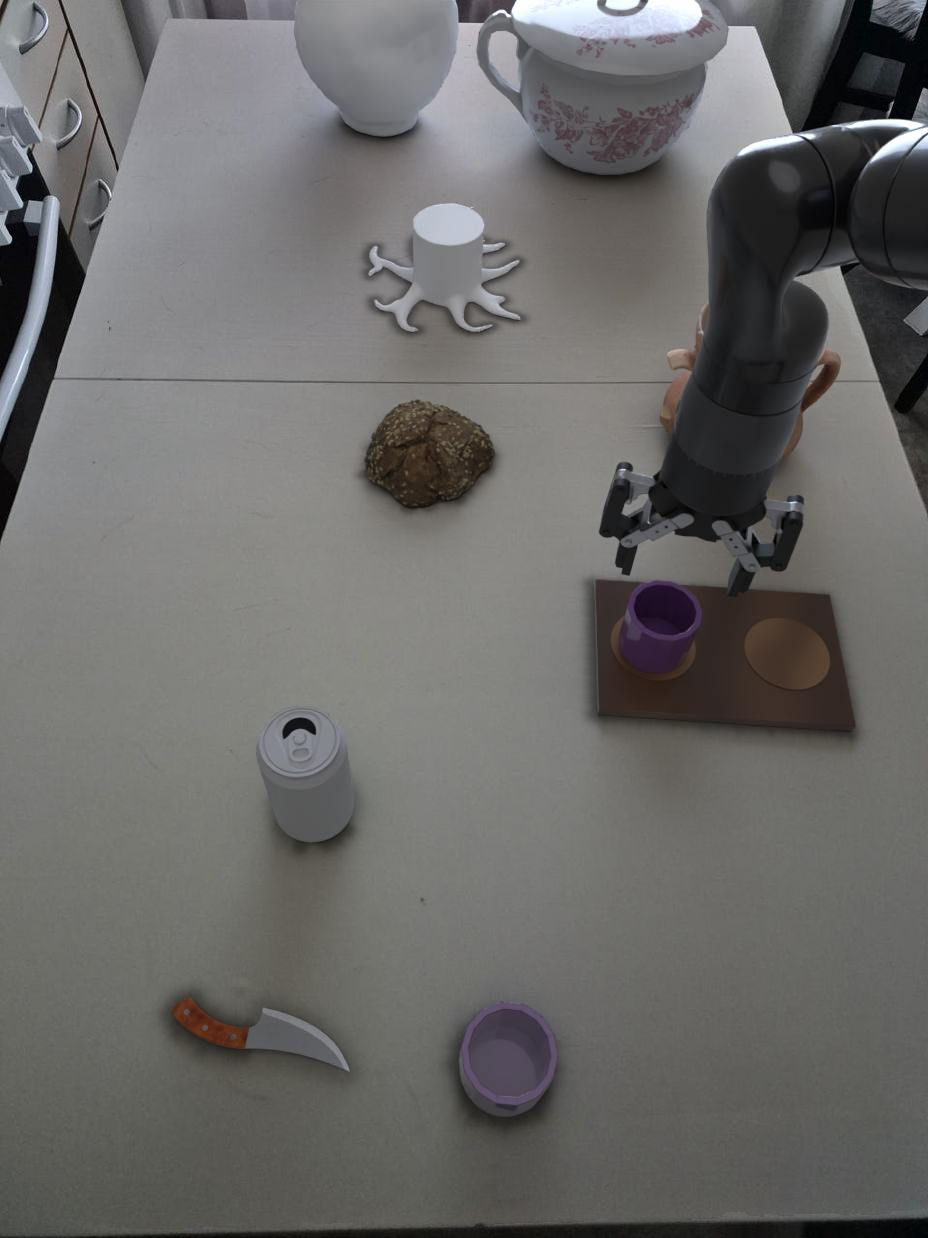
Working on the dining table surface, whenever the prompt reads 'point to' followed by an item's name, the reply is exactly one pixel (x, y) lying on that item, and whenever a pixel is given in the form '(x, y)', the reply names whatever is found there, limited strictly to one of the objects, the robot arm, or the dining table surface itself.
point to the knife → (262, 1033)
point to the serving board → (732, 662)
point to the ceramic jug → (687, 361)
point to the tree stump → (446, 265)
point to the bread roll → (427, 453)
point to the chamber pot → (607, 75)
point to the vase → (377, 57)
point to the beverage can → (306, 772)
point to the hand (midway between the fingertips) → (679, 577)
